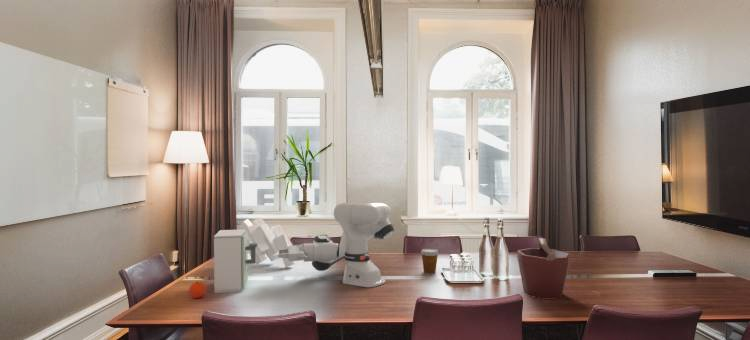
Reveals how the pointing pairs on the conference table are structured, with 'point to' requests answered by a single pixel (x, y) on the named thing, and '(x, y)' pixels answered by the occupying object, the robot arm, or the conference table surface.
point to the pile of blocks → (267, 240)
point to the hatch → (245, 257)
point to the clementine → (197, 289)
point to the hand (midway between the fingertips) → (278, 253)
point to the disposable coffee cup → (429, 260)
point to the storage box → (228, 261)
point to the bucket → (543, 270)
